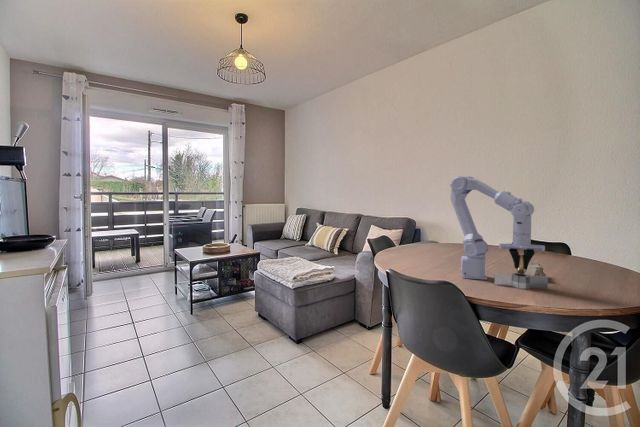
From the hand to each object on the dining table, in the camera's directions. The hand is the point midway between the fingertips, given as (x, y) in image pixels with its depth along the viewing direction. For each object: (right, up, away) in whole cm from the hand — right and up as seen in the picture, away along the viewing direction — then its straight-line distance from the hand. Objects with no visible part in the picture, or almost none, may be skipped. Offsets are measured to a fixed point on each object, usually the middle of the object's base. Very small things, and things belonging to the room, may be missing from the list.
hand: (520, 268), depth 116 cm
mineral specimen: (+13, -6, +12) cm, 19 cm away
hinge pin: (0, -2, 0) cm, 2 cm away
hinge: (0, -7, +1) cm, 7 cm away
